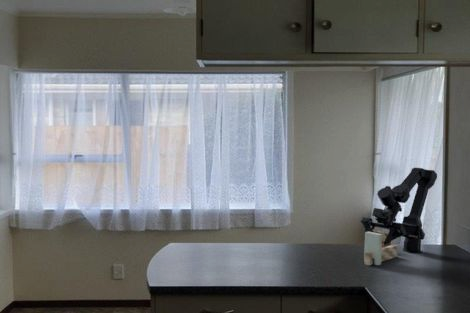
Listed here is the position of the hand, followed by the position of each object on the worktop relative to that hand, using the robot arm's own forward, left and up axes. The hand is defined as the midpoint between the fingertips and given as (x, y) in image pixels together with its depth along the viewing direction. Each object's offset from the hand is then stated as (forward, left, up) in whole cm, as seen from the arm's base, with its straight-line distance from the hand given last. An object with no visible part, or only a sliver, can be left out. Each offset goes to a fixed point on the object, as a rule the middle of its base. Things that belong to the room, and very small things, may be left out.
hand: (374, 242), depth 207 cm
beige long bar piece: (-5, -3, -9) cm, 10 cm away
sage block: (+1, 0, -9) cm, 9 cm away
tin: (-13, -22, -9) cm, 27 cm away
